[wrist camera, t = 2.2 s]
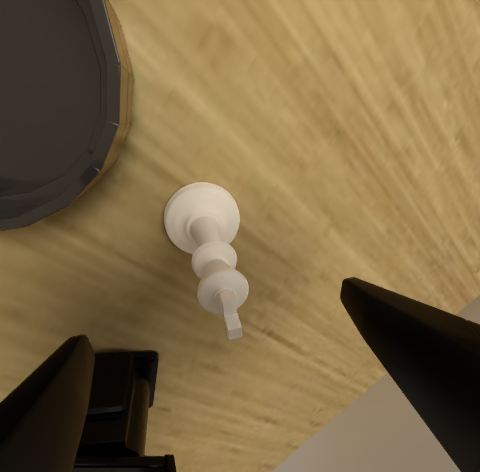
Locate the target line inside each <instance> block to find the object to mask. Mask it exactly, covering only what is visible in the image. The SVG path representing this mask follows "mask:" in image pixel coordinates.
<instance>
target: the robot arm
mask: <svg viewBox="0 0 480 472" xmlns="http://www.w3.org/2000/svg"><path fill="white" fill-rule="evenodd" d="M340 299H341V302H342V304H343V305H344V307H345V309H346V310H347V312H348V314H349V316H350V317H351V319H352V321H353V322H354V324H355V326H356V327H357V329H358V331H359V332H360V334H361V335H362V337H363V338H364V340H365V341H366V343H367V344H368V346H369V347H370V348H371V350H372V351H373V352H374V354H375V355H376V356H377V358H378V359H379V361H380V362H381V363H382V365H383V366H384V367H385V369H386V370H387V371H388V373H389V374H390V376H391V377H392V378H393V380H394V381H395V382H396V384H397V385H398V386H399V388H400V389H401V390H402V392H403V393H404V395H405V396H406V397H407V399H408V400H409V401H410V403H411V404H412V406H413V407H414V408H415V410H416V411H417V412H418V414H419V415H420V417H421V418H422V419H423V420H424V422H425V423H426V425H427V426H428V427H429V429H430V430H431V431H432V433H433V434H434V436H435V437H436V438H437V440H438V441H439V442H440V444H441V445H442V446H443V448H444V449H445V450H446V452H447V453H448V455H449V456H450V457H451V459H452V460H453V461H454V463H455V464H456V466H457V467H458V468H459V470H460V471H461V472H480V324H477V323H474V322H472V321H469V320H467V321H466V320H465V319H464V318H461V317H458V316H456V315H453V314H450V313H448V312H445V311H443V310H440V309H437V308H435V307H432V306H429V305H427V304H424V303H421V302H419V301H416V300H413V299H411V298H408V297H405V296H403V295H400V294H398V293H395V292H392V291H390V290H387V289H384V288H382V287H379V286H376V285H374V284H371V283H368V282H366V281H363V280H360V279H358V278H355V277H351V278H347V279H344V280H343V282H342V287H341V294H340ZM158 357H159V356H158V353H156V352H134V353H110V354H95V353H94V350H93V348H92V346H91V344H90V342H89V339H88V337H87V336H86V335H78V336H73V337H70V338H69V339H68V340H67V341H65V342H64V343H63V344H62V345H61V346H60V347H59V348H58V349H57V350H56V351H55V352H54V353H53V354H52V355H51V356H49V357H48V358H47V359H46V360H45V361H44V362H43V363H42V364H41V365H40V366H39V367H38V368H37V369H36V370H35V371H34V372H32V373H31V374H30V375H29V376H28V377H27V378H26V379H25V380H24V381H23V382H22V383H21V384H20V385H19V386H18V387H16V388H15V389H14V390H13V391H12V392H11V393H10V394H9V395H8V396H7V397H6V398H5V399H4V400H3V401H2V402H1V403H0V472H176V466H175V460H174V455H165V456H144V453H145V442H146V430H147V418H148V408H150V407H151V406H152V405H153V399H154V391H155V383H156V375H157V367H158Z"/></svg>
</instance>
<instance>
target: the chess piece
mask: <svg viewBox="0 0 480 472" xmlns="http://www.w3.org/2000/svg"><path fill="white" fill-rule="evenodd" d="M239 223H240V216H239V211H238V207H237V204H236V202H235V200H234V198H233V197H232V196H231V194H230V193H229V192H228V191H226V190H225V189H224V188H222V187H220V186H218V185H215V184H212V183H207V182H198V183H192V184H189V185H187V186H184V187H182V188H181V189H179V190H178V191H177V192H176V193H174V194H173V196H172V197H171V198H170V200H169V201H168V203H167V205H166V208H165V211H164V225H165V229H166V232H167V234H168V236H169V238H170V240H171V241H172V242H173V244H174V245H175V246H177V247H178V248H179V249H181V250H182V251H184V252H187V253H189V254H193V256H192V261H191V264H192V268H193V271H194V272H195V274H196V275H197V276H198V277H199V278H200V279H201V281H200V283H199V286H198V290H197V298H198V302H199V304H200V305H201V307H202V308H203V309H205V310H206V311H208V312H210V313H213V314H223V317H224V324H225V330H226V335H227V339H229V340H234V339H238V338H242V337H243V333H242V326H241V323H240V320H239V317H238V314H237V309H238V308H239V307H240V306H241V305H242V304H243V303H244V302H245V300H246V299H247V297H248V293H249V285H248V282H247V280H246V278H245V277H244V276H243V275H242V274H241V273H240V272H239V271H237V270H236V269H235V267H236V263H237V255H236V252H235V250H234V249H233V247H232V246H230V245H229V244H230V243H231V241H232V240H233V239H234V237H235V236H236V234H237V231H238V228H239Z"/></svg>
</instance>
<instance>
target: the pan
mask: <svg viewBox="0 0 480 472" xmlns="http://www.w3.org/2000/svg"><path fill="white" fill-rule="evenodd" d="M133 85H134V79H133V72H132V67H131V63H130V59H129V55H128V51H127V47H126V43H125V38H124V34H123V30H122V26H121V24H120V21H119V19H118V17H117V15H116V13H115V11H114V9H113V7H112V5H111V3H110V1H109V0H0V231H4V230H11V229H17V228H23V227H26V226H29V225H31V224H33V223H35V222H37V221H39V220H41V219H43V218H45V217H47V216H49V215H51V214H53V213H55V212H57V211H59V210H61V209H63V208H65V207H67V206H69V205H70V204H72V203H73V202H74V201H75V200H76V199H78V198H79V197H80V196H81V195H82V194H83V193H85V192H86V191H87V190H88V189H89V188H91V187H92V186H93V185H94V184H95V183H96V182H97V181H98V180H99V178H100V177H101V176H102V175H103V174H104V173H105V172H106V171H107V170H108V169H109V168H110V167H111V166H112V165H113V164H114V162H115V161H116V160H117V159H118V157H119V154H120V152H121V149H122V147H123V144H124V142H125V139H126V137H127V134H128V132H129V129H130V127H131V124H132V123H131V122H132V108H133Z"/></svg>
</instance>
